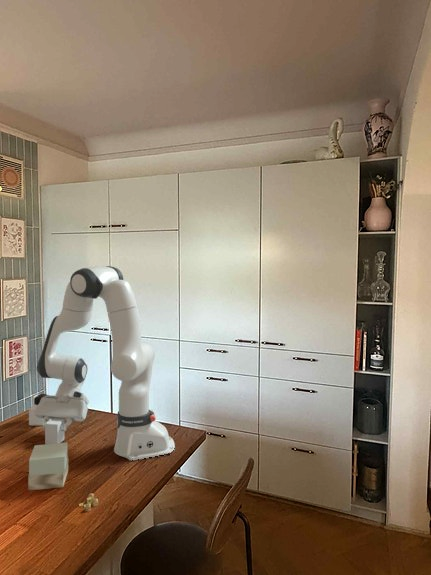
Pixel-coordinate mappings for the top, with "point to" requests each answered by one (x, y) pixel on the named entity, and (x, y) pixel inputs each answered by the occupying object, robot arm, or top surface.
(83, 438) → the top surface
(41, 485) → the birch block
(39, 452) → the sage block
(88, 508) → the beige lumpy cluster
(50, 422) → the grey block
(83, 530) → the top surface
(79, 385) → the robot arm
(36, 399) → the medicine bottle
